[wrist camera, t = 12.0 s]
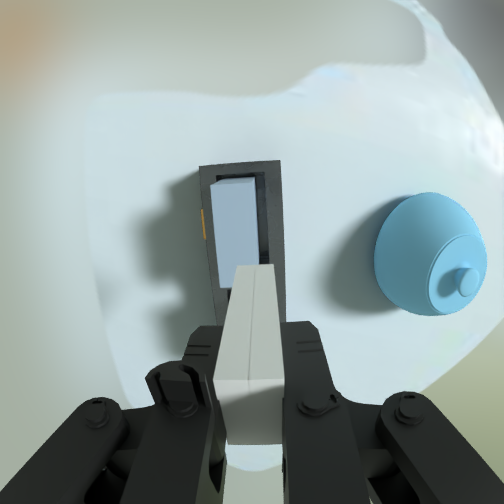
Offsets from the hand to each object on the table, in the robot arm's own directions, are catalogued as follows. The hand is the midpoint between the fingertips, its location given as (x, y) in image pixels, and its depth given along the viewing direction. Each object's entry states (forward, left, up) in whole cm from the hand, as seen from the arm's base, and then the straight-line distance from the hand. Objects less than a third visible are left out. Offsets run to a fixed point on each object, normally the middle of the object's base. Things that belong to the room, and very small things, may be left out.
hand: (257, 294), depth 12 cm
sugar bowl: (+5, +20, -21) cm, 30 cm away
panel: (0, -2, -19) cm, 19 cm away
